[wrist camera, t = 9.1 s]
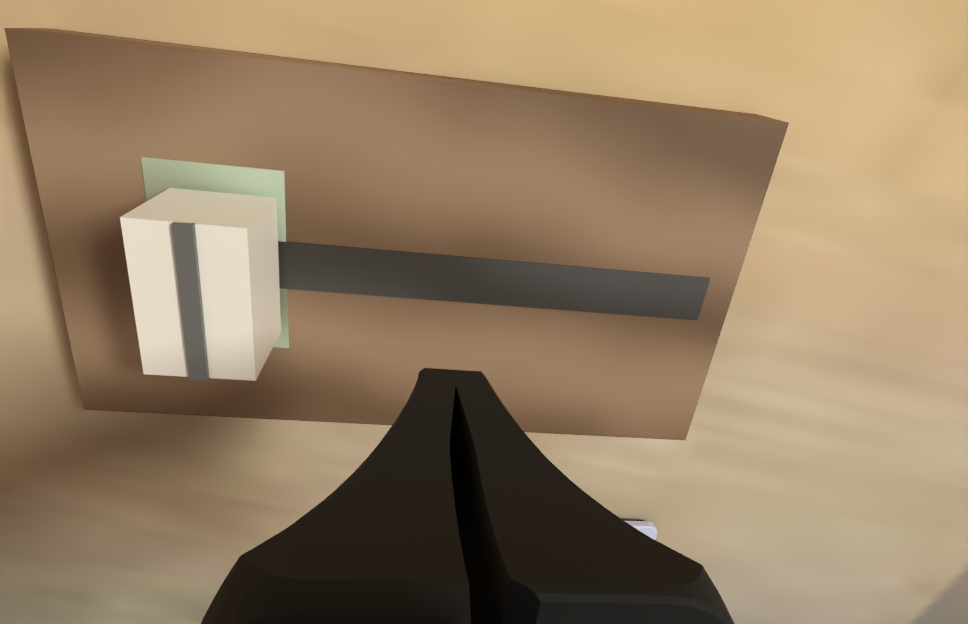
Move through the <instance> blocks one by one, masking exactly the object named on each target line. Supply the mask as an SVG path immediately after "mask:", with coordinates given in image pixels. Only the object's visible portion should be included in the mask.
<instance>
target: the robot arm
mask: <svg viewBox="0 0 968 624" xmlns="http://www.w3.org/2000/svg"><path fill="white" fill-rule="evenodd" d="M656 536H657V530H656V528H655V526H654V524H653V523H651V522H648V521H623V520H622V519H620V518H619V517H617V516H616V515H614V514H613V513H612V512H610V511H609V510H607V509H606V508H604V507H603V506H602V505H601V504H599V503H598V502H597V501H595V500H594V499H593V498H591V497H590V496H589V495H588V494H586V493H585V492H584V491H582V490H581V489H580V488H579V487H578V486H576V485H575V484H574V483H573V482H572V481H570V480H569V479H568V478H567V477H566V476H565V475H564V474H563V473H562V472H561V471H560V470H559V469H558V468H556V467H555V466H554V465H553V464H552V463H551V462H550V461H549V460H548V459H547V458H546V457H545V456H544V455H543V454H542V453H541V451H540V450H539V449H538V448H537V447H536V446H535V445H534V443H533V442H532V441H531V440H530V439H529V438H528V436H527V435H526V434H525V433H524V431H523V430H522V429H521V428H520V426H519V425H518V424H517V422H516V421H515V420H514V418H513V417H512V416H511V414H510V413H509V412H508V410H507V409H506V407H505V406H504V404H503V403H502V402H501V400H500V399H499V397H498V396H497V394H496V392H495V391H494V389H493V388H492V386H491V384H490V383H489V381H488V380H487V378H486V376H485V375H484V374H483V373H482V371H467V370H451V369H435V368H424V369H422V370H421V371H420V372H419V374H418V379H417V382H416V384H415V387H414V389H413V391H412V393H411V395H410V397H409V399H408V401H407V403H406V405H405V406H404V408H403V410H402V411H401V413H400V415H399V416H398V418H397V419H396V421H395V423H394V424H393V425H392V427H391V428H390V429H389V431H388V432H387V434H386V435H385V436H384V438H383V439H382V441H381V442H380V443H379V445H378V446H377V447H376V448H375V449H374V451H373V452H372V453H371V454H370V455H369V457H368V458H367V459H366V460H365V461H364V462H363V463H362V464H361V465H360V466H359V468H358V469H357V470H356V471H355V472H354V473H353V474H352V475H351V476H350V477H349V478H348V479H347V480H346V481H344V482H343V483H342V484H341V485H340V486H339V487H338V488H337V489H336V490H335V491H334V492H333V493H332V494H330V495H329V496H328V497H327V498H326V499H325V500H323V501H322V502H321V503H320V504H318V505H317V506H316V507H314V508H313V509H312V510H310V511H309V512H308V513H307V514H305V515H304V516H303V517H301V518H300V519H299V520H297V521H296V522H295V523H294V524H292V525H291V526H289V527H288V528H286V529H285V530H283V531H282V532H280V533H278V534H277V535H275V536H273V537H272V538H270V539H268V540H267V541H265V542H263V543H262V544H260V545H258V546H257V547H255V548H253V549H252V550H250V551H248V552H246V553H244V554H243V555H241V556H240V557H239V559H238V560H237V562H236V563H235V565H234V566H233V568H232V569H231V571H230V572H229V574H228V576H227V577H226V579H225V580H224V582H223V584H222V585H221V587H220V589H219V590H218V592H217V594H216V596H215V597H214V599H213V601H212V603H211V605H210V607H209V609H208V610H207V612H206V614H205V616H204V618H203V620H202V623H201V624H734V622H733V620H732V618H731V616H730V614H729V612H728V610H727V608H726V606H725V604H724V602H723V600H722V598H721V596H720V594H719V592H718V590H717V589H716V587H715V586H714V584H713V582H712V581H711V579H710V578H709V576H708V574H707V573H706V571H705V569H704V567H703V566H702V565H701V564H699V563H697V562H695V561H693V560H691V559H689V558H688V557H686V556H684V555H682V554H680V553H678V552H676V551H674V550H673V549H671V548H669V547H667V546H665V545H663V544H661V543H659V542H657V541H656V540H655V539H656Z"/></svg>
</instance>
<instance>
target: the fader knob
mask: <svg viewBox="0 0 968 624" xmlns="http://www.w3.org/2000/svg"><path fill="white" fill-rule="evenodd" d="M120 222H121V228H122V235H123V242H124V248H125V255H126V261H127V268H128V275H129V281H130V288H131V294H132V301H133V308H134V314H135V321H136V327H137V334H138V341H139V347H140V354H141V360H142V367H143V374H147V375H165V376H182V377H189V380H199V381H208V380H209V378H216V379H233V380H250V381H256V379H257V377H258V375H259V373H260V372H261V370H262V368H263V366H264V364H265V362H266V360H267V358H268V356H269V354H270V352H271V350H272V348H273V346H274V344H275V342H276V341H277V339H278V337H279V335H280V333H281V317H280V287H279V257H278V228H277V198H274V197H263V196H252V195H242V194H231V193H221V192H210V191H199V190H189V189H178V188H169V189H167V190H165V191H164V192H162V193H160V194H159V195H157V196H155V197H153V198H152V199H150V200H148V201H147V202H145V203H143V204H142V205H140V206H138V207H136V208H135V209H133V210H131V211H130V212H128V213H126V214H125V215H123V216H121V217H120Z"/></svg>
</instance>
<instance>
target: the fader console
mask: <svg viewBox="0 0 968 624" xmlns="http://www.w3.org/2000/svg"><path fill="white" fill-rule="evenodd" d="M5 33H6V38H7V42H8V47H9V52H10V57H11V62H12V66H13V71H14V76H15V81H16V86H17V90H18V95H19V100H20V105H21V110H22V114H23V119H24V124H25V129H26V134H27V138H28V143H29V148H30V153H31V158H32V163H33V167H34V172H35V177H36V182H37V187H38V191H39V196H40V201H41V206H42V211H43V215H44V220H45V225H46V230H47V235H48V239H49V244H50V249H51V254H52V259H53V263H54V268H55V273H56V278H57V283H58V287H59V292H60V297H61V302H62V307H63V311H64V316H65V321H66V326H67V331H68V335H69V340H70V345H71V350H72V355H73V359H74V364H75V369H76V374H77V379H78V384H79V388H80V393H81V398H82V403H83V408H84V409H85V410H105V411H124V412H144V413H163V414H183V415H202V416H222V417H241V418H261V419H281V420H300V421H320V422H339V423H359V424H378V425H393V424H394V423H395V421H396V419H397V418H398V416H399V415H400V413H401V411H402V410H403V408H404V406H405V405H406V403H407V401H408V399H409V397H410V395H411V393H412V391H413V389H414V387H415V384H416V382H417V379H418V374H419V372H420V371H421V370H422V369H424V368H435V369H451V370H467V371H482V373H483V374H484V375H485V376H486V378H487V380H488V381H489V383H490V384H491V386H492V388H493V389H494V391H495V392H496V394H497V396H498V397H499V399H500V400H501V402H502V403H503V404H504V406H505V407H506V409H507V410H508V412H509V413H510V414H511V416H512V417H513V418H514V420H515V421H516V422H517V424H518V425H519V426H520V428H521V429H522V430H523V431H524V432H535V433H554V434H574V435H593V436H613V437H632V438H652V439H671V440H686V436H687V433H688V430H689V427H690V424H691V421H692V418H693V415H694V412H695V409H696V406H697V403H698V400H699V397H700V394H701V390H702V387H703V384H704V381H705V378H706V375H707V372H708V369H709V366H710V363H711V360H712V357H713V354H714V351H715V348H716V345H717V341H718V338H719V335H720V332H721V329H722V326H723V323H724V320H725V317H726V314H727V311H728V308H729V305H730V302H731V299H732V295H733V292H734V289H735V286H736V283H737V280H738V277H739V274H740V271H741V268H742V265H743V262H744V259H745V256H746V253H747V249H748V246H749V243H750V240H751V237H752V234H753V231H754V228H755V225H756V222H757V219H758V216H759V213H760V210H761V207H762V204H763V200H764V197H765V194H766V191H767V188H768V185H769V182H770V179H771V176H772V173H773V170H774V167H775V164H776V161H777V158H778V154H779V151H780V148H781V145H782V142H783V139H784V136H785V133H786V130H787V127H788V124H789V123H787V122H784V121H780V120H776V119H772V118H768V117H764V116H760V115H757V114H749V113H740V112H732V111H724V110H716V109H708V108H699V107H691V106H683V105H675V104H666V103H658V102H650V101H642V100H634V99H625V98H617V97H609V96H601V95H592V94H584V93H576V92H568V91H560V90H551V89H543V88H535V87H527V86H518V85H510V84H502V83H494V82H486V81H477V80H469V79H461V78H453V77H444V76H436V75H428V74H420V73H412V72H403V71H395V70H387V69H379V68H370V67H362V66H354V65H346V64H338V63H329V62H321V61H313V60H305V59H296V58H288V57H280V56H272V55H264V54H255V53H247V52H239V51H231V50H222V49H214V48H206V47H198V46H190V45H181V44H173V43H165V42H157V41H148V40H140V39H132V38H124V37H116V36H107V35H99V34H91V33H83V32H74V31H66V30H58V29H43V28H5ZM169 188H178V189H189V190H199V191H210V192H221V193H231V194H242V195H252V196H263V197H274V198H277V228H278V257H279V287H280V317H281V333H280V335H279V337H278V339H277V341H276V342H275V344H274V346H273V348H272V350H271V352H270V354H269V356H268V358H267V360H266V362H265V364H264V366H263V368H262V370H261V372H260V373H259V375H258V377H257V379H256V381H250V380H233V379H216V378H209V380H208V381H199V380H189V377H182V376H165V375H147V374H143V367H142V360H141V354H140V347H139V341H138V334H137V327H136V321H135V314H134V308H133V301H132V294H131V288H130V281H129V275H128V268H127V261H126V255H125V248H124V242H123V235H122V228H121V222H120V217H121V216H123V215H125V214H126V213H128V212H130V211H131V210H133V209H135V208H136V207H138V206H140V205H142V204H143V203H145V202H147V201H148V200H150V199H152V198H153V197H155V196H157V195H159V194H160V193H162V192H164V191H165V190H167V189H169Z"/></svg>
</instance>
